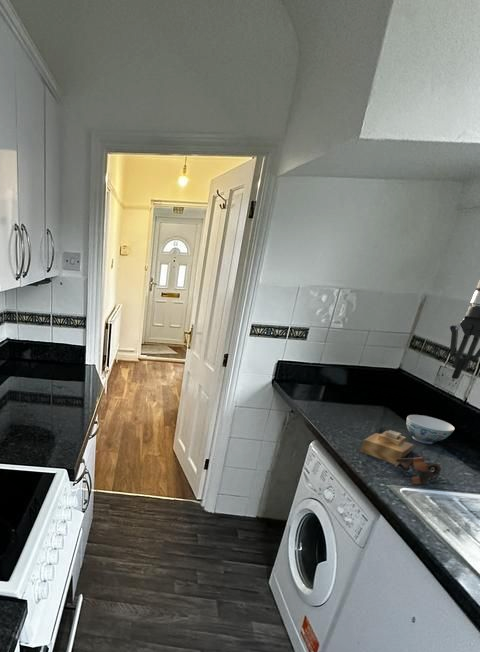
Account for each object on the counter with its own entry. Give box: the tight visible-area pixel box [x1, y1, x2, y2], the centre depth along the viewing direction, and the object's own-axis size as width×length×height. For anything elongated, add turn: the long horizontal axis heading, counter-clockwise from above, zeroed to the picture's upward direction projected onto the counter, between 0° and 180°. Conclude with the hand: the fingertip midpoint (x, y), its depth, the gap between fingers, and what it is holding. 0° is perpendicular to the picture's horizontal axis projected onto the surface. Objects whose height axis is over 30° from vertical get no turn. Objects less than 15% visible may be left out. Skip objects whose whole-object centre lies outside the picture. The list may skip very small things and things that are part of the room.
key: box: [385, 429, 402, 439], centre depth 146 cm, size 4×4×2 cm
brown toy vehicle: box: [393, 456, 442, 485], centre depth 132 cm, size 12×10×8 cm
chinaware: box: [406, 414, 455, 445], centre depth 161 cm, size 15×15×8 cm
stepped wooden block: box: [359, 430, 414, 465], centre depth 146 cm, size 12×11×7 cm
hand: (455, 377), depth 140 cm, fingers closed
